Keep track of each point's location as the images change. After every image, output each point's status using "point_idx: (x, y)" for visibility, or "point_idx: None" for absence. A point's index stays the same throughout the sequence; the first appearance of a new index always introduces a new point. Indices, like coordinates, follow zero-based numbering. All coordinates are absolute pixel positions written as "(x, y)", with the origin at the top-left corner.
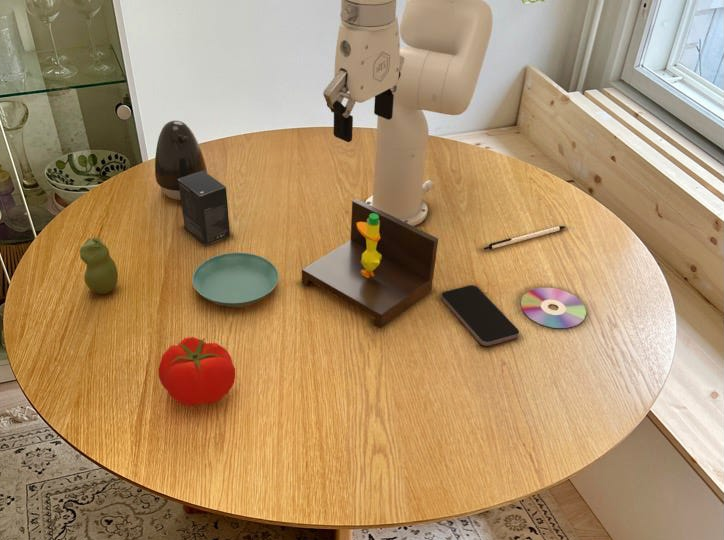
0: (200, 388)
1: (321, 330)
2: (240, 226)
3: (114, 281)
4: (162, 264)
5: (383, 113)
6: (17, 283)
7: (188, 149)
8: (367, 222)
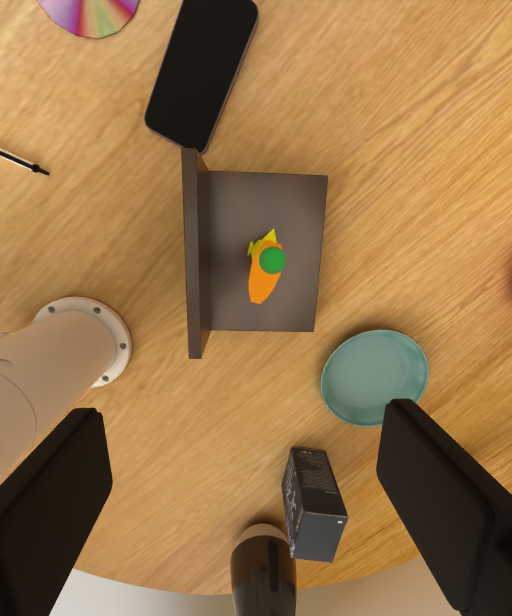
0: None
1: (370, 241)
2: (266, 452)
3: None
4: None
5: (95, 455)
6: None
7: (270, 604)
8: (284, 265)
